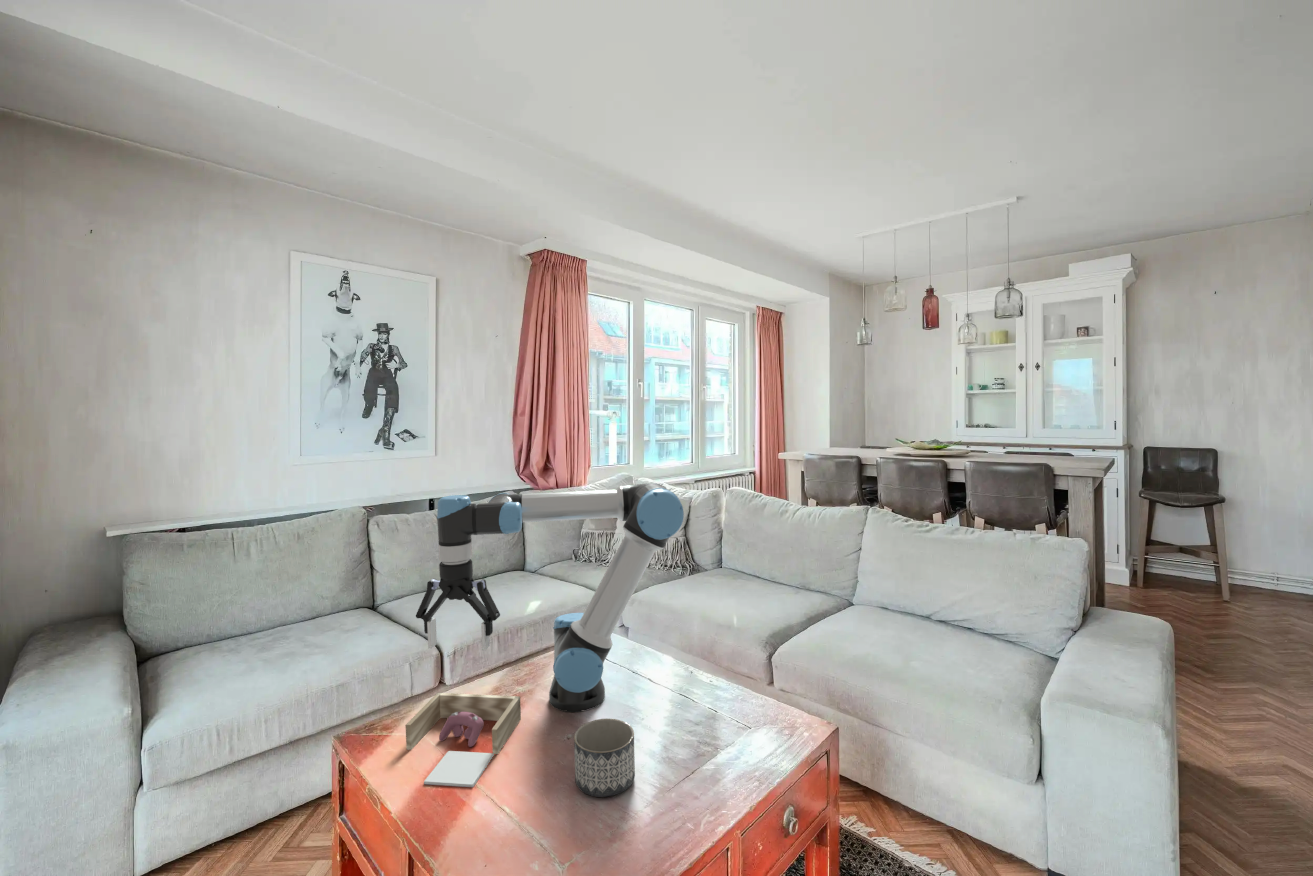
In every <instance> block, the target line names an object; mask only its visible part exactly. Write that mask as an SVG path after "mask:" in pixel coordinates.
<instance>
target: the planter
mask: <svg viewBox="0 0 1313 876" xmlns="http://www.w3.org/2000/svg"><path fill="white" fill-rule="evenodd" d="M573 743H574V781H575V783H576V787H577V788H578V789H579V790H580V791H581V792H582V793H584V794H586V795H589V796H591V797H599V798H605V797H606V798H607V797H612V796H616V795H619V794H621V793H623V792H625V791H626V790H627V789H629V788H630V787H631V786H632V784H633V783H634V781H635V777H636V770H635V769H636V767H635V766H636V765H635V763H636V762H635V759H636V758H635V731H634V728H633V727H632V726H631V725H630V724H629V723H627V722H626V721H623V720H620V719H616V718H599V719H593V720H591V721H587V722H586V723H584V724H582V725H581V726H580V727H578V729H577V730H576V731H575V732H574V735H573Z"/></svg>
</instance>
